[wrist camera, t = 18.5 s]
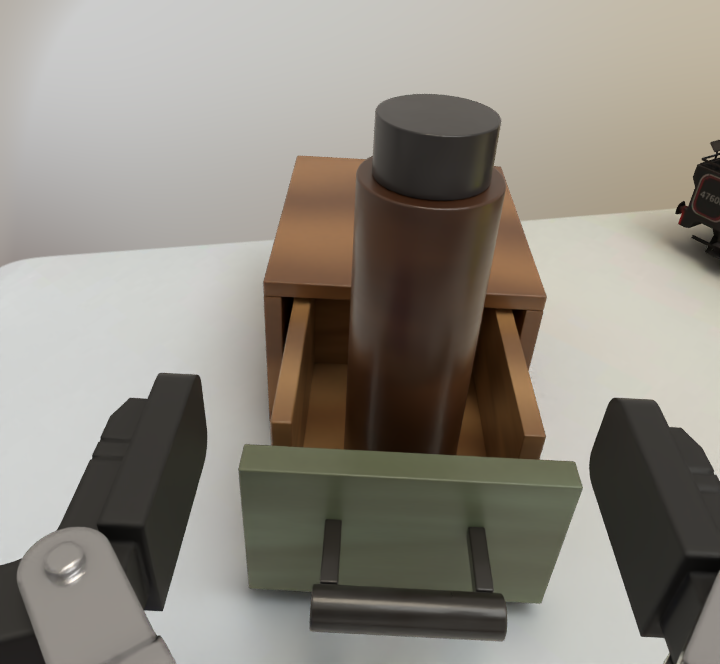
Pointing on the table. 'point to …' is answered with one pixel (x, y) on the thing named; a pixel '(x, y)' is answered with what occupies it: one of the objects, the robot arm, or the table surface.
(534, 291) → the cabinet
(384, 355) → the pepper mill
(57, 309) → the table surface
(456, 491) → the drawer
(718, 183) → the toy train
